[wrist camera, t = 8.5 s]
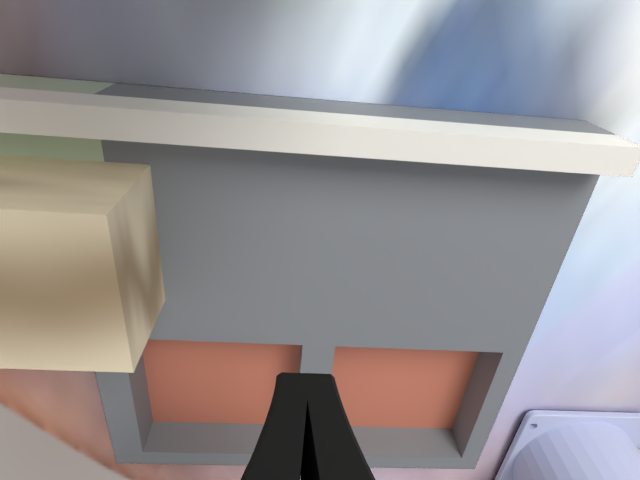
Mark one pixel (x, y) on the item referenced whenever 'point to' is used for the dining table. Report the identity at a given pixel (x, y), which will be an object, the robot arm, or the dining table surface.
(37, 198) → the maple block
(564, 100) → the dining table surface
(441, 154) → the board
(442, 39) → the dining table surface
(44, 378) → the dining table surface
